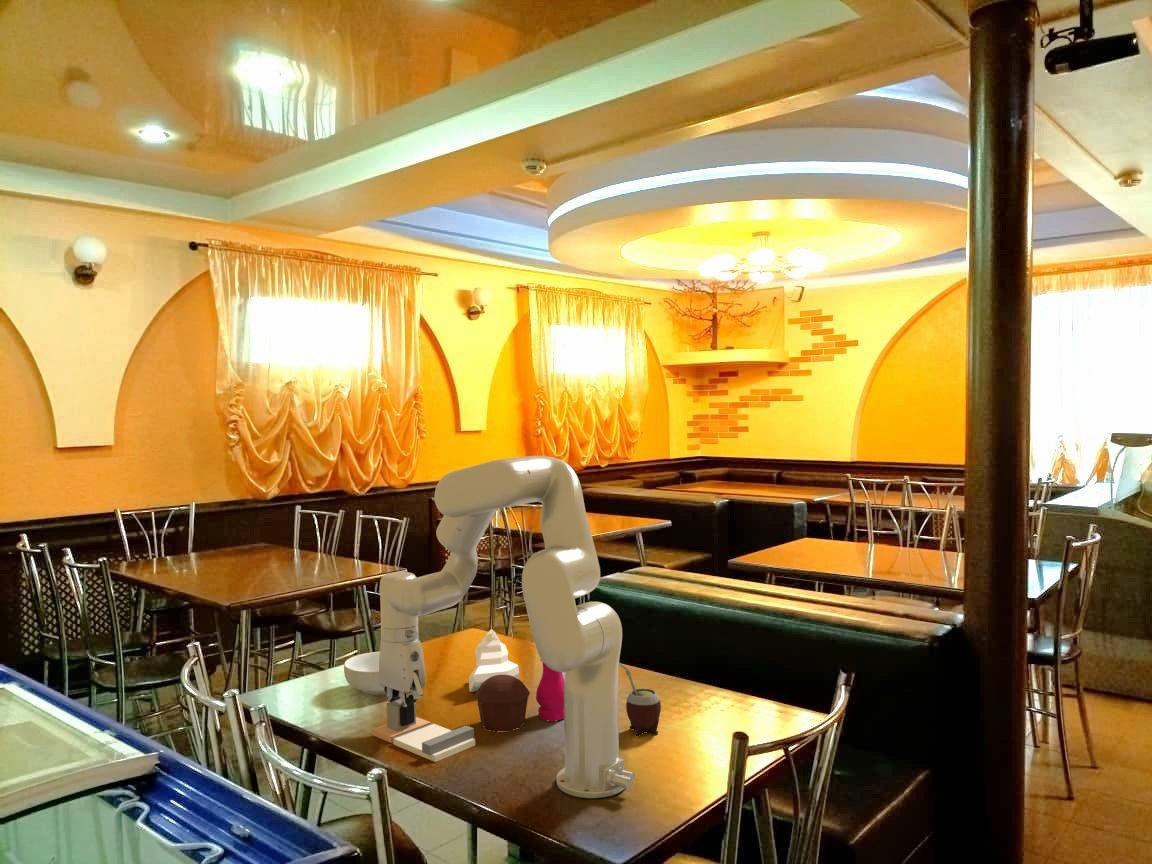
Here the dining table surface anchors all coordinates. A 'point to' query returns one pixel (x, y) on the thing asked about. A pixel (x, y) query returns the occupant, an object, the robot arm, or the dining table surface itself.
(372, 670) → the cereal bowl
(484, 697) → the muffin
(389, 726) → the pink base grey block
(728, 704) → the dining table surface
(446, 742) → the base
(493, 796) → the dining table surface
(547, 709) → the pepper mill
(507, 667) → the soft serve ice cream
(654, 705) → the mate gourd
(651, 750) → the dining table surface
